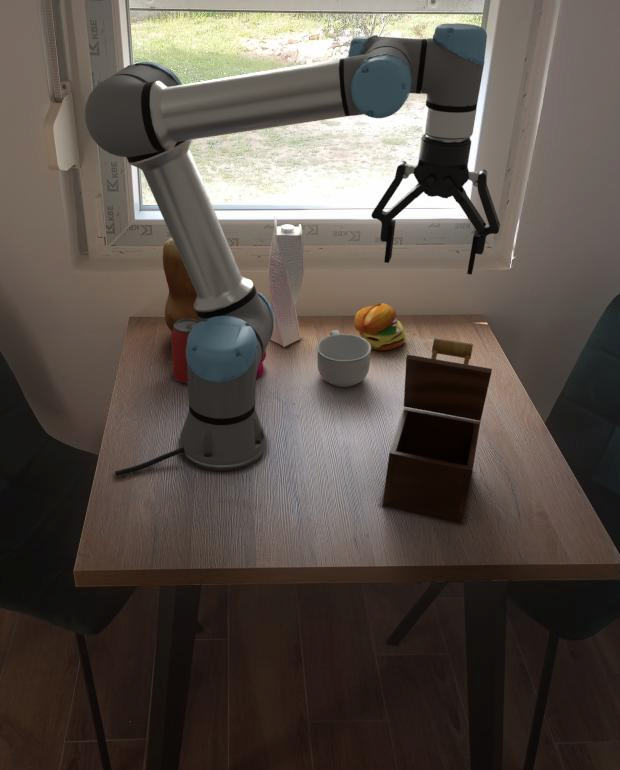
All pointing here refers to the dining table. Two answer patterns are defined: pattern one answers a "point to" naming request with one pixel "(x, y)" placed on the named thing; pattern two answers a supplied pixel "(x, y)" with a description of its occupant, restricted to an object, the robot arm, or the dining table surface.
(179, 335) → the beer can
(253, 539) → the dining table surface
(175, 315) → the butternut squash
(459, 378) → the lid
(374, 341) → the cheeseburger
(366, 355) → the teacup
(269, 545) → the dining table surface
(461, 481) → the caddy
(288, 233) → the skyscraper
